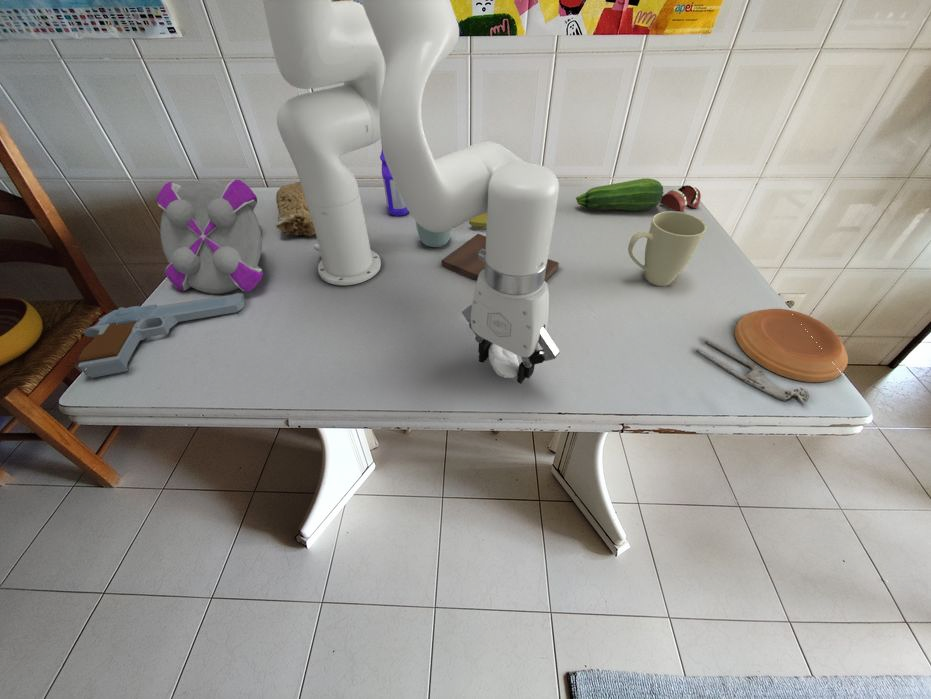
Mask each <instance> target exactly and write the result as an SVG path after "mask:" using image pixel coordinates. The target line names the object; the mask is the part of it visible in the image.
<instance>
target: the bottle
mask: <svg viewBox="0 0 931 699" xmlns="http://www.w3.org/2000/svg"><path fill="white" fill-rule="evenodd" d="M379 159H380V161H381V177H382V183H383V188H384V195H385V201H386V209H387V211H388V213H389V214H390V215H391V216H405V215H407V214H408V213H409V211H408V209H407V207H406V205H405V204H404V202H403V200H402V198H401V196H400V193H399V191H398V189H397V187H396V184H395V182H394V179H393V177H392V175H391V173H390V170H389V168H388V166H387V163H386V160H385V157H384V154H383V149H382V148H381V151H380V155H379Z"/></svg>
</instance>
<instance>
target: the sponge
mask: <svg viewBox="0 0 931 699" xmlns="http://www.w3.org/2000/svg"><path fill="white" fill-rule="evenodd" d="M275 200H276V207H277V209H278V212H279V216H278V217H277V222H276V228H277V229H279V231H280V232H284V234H285V235H287V236H288V235H291V236H302V235H304V236H307V237H313V236H314V235H316V233H315V229H314V226H313V222H312V219H311V215H310V212H309V209H308V205H307V202H306V199H305V196H304V192H303V189H302V186H301V183H300V181H295V182H294V183H290V184H285V185H282V186H281V187H279V189H278V190H277V191H276V195H275Z"/></svg>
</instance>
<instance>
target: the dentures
mask: <svg viewBox="0 0 931 699" xmlns="http://www.w3.org/2000/svg"><path fill="white" fill-rule="evenodd" d="M701 195H702V194H701V192H700V190H699V189H698V188H697V187H695V186H692V185H691V184H690V185H689V184H686V185H681V187H679V188H678V189H670V190H668V192H667V193H664V194H663V196H662V200H661V201H660V203H659V204H661V205H662V206H665V207H667V208H668V209H671V210H672V211H676V212H683V213H684V211H685V208H686V206H689V207H691V208H694V209H697V208H698V207H699V205H700V203H701V199H702V196H701Z"/></svg>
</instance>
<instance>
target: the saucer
mask: <svg viewBox="0 0 931 699" xmlns="http://www.w3.org/2000/svg"><path fill="white" fill-rule="evenodd" d="M792 314H793V315H792ZM801 324H802V325H801ZM805 329H806V330H805ZM807 331H808V332H807ZM811 336H812V337H813V338H812V337H811ZM734 338H735V341H736V343H737V344H738V346H739V347H740V349H741V350H742V351H743V352H744V353H745V354H746V355H747V357H749V358H750V359H751V360H752V361H754V362H755V363H756V364H758V365H759V366H762V367H763V368H765V369H766V370H768V371H770V372H772V373H774V374H777V375H779V376H781V377H784V378H788V379H792V380H795V381H801V382H807V383H822V382H823V383H824V382H827V381H832V380H835V379H836V378H838V377H839V376H841V375H842V374H843V373H844V371H845V370H846V368H847V366H848V362H849V356H848V353H847V350H846V348H845V346H844V344H843V343H842V341H841V338H839V336H838V335H837V333H835V331H834V330H833V329H832V328H830V327H829V326H828V325H826V324H825V323H823V322H822V321H820V320H819V319H816V318H814V317H813V316H810V315H808V314H805V313H802V312H800V311H795V310H792V309H787V308H768V309H760V310H755V311H752V312H749V313H746V314H744V315H743V316H742V317H741V318H740V319H739V320H738V322H737V323H736V324H735V327H734ZM816 342H817V343H816ZM819 346H820V347H819ZM821 348H822V349H821ZM832 362H833V363H834V364H835V365H834V364H833V363H832ZM837 368H838V369H839V370H840V371H841V373H842V374H841V373H840V372H839V370H838V369H837Z"/></svg>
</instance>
